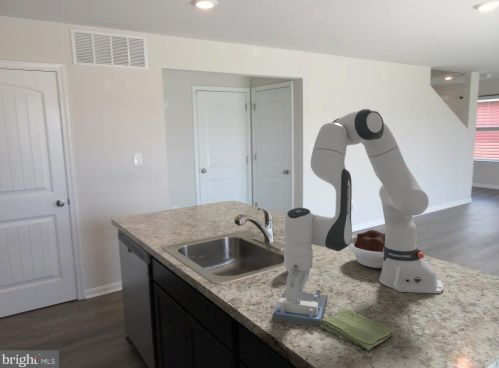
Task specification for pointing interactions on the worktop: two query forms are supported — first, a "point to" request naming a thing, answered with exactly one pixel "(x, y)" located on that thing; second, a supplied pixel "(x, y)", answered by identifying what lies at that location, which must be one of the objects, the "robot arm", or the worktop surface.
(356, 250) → the chocolate pudding dish
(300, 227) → the robot arm
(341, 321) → the washcloth
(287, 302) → the bar
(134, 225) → the worktop surface
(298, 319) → the board
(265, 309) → the worktop surface
